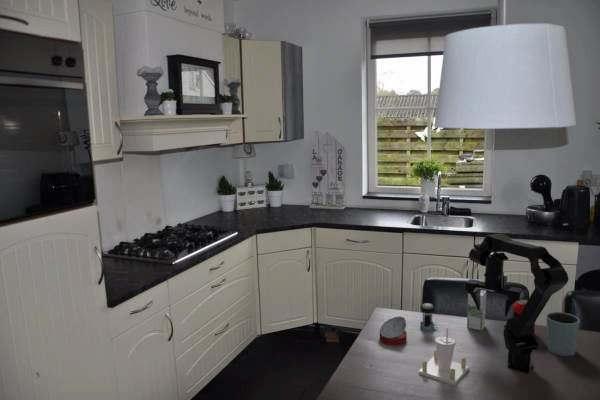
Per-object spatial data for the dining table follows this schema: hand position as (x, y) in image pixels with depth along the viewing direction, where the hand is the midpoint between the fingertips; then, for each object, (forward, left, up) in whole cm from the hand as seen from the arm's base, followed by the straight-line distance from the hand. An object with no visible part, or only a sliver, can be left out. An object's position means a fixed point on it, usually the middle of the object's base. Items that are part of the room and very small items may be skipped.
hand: (492, 312), depth 175 cm
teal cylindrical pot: (-20, -12, -13) cm, 27 cm away
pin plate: (+7, +25, -13) cm, 29 cm away
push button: (+24, -2, -13) cm, 27 cm away
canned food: (+31, +14, -13) cm, 37 cm away
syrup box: (+10, -14, -13) cm, 22 cm away
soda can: (-6, -19, -13) cm, 24 cm away
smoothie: (+7, +25, -12) cm, 28 cm away
